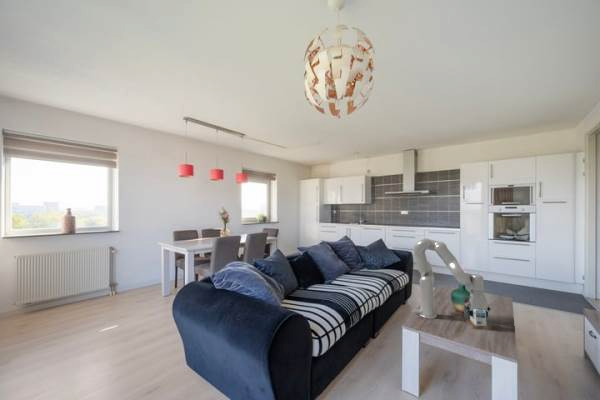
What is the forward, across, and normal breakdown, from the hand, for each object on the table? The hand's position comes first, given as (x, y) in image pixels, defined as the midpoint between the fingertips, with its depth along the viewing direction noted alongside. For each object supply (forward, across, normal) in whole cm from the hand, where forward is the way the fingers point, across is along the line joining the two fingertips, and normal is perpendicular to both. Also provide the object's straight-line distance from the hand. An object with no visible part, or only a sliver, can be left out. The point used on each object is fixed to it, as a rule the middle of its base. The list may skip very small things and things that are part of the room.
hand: (478, 316), depth 181 cm
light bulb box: (+5, 0, 0) cm, 5 cm away
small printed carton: (+7, 0, 0) cm, 7 cm away
